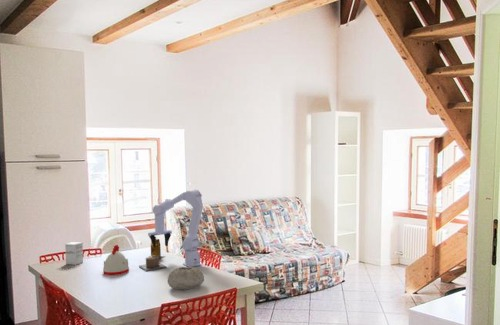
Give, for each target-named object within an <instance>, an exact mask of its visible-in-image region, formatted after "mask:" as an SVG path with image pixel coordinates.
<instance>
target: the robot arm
mask: <svg viewBox="0 0 500 325" xmlns="http://www.w3.org/2000/svg"><path fill="white" fill-rule="evenodd" d="M202 196H203V195H202V193H201V192H200V191H199V190H198V189H193V190H186V191H185V192H181V193H180V194H178V195H177V196H175V197H174V198H172V199H170V198H166V199H164V201H162V202H159V204H155V205H154V206H153V207H152V213H153V214H154V231H151V232H147V236H148V237H149V239H150V242H151V241H152V244H153V247H154V248H156V243H155V242H156V239H157V236H159V235H160V236H161V235H164V236H163V237H164V245H165V246H166V247H169V246H168V245H169V241H170V238H171V236H172V234H173V233H172V232H173V230H171V229H169V230H167V229H166V227H165V226H166V224H165V213H166V212H167V211H169V210H172V209H173V208H174V207H175V205H176V204H178V203H180V202H182V201H185V202H187V204H189V205H190V206H191V207H192V212H191V215H190V216H191V217H190V221H189V226H188V232H187V234H186V235H185V237H184V240H183V241H182V243H181V244H182V248H183V249H184V261H185V262H183V263H182V265H183V266H185V267H197V266H198V267H199V266H202V264H201V257H200V256H201V255H200V253H199V251H198V246H199V245H200V239H199V238H200V237H199V235H198V231H199V226H200V223H201V216H202V212H203V206H204V205H203V204H204V203H203V200H202ZM165 229H166V230H165Z"/></svg>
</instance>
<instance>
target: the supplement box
mask: <svg viewBox="0 0 500 325" xmlns="http://www.w3.org/2000/svg"><path fill="white" fill-rule="evenodd" d="M83 244H84V243H83V242H80V241H79V242H78V241H71V242H68V243H65V244H64V245H65V249H64V250H65V265H73V266H76V265H79V264H82V263H83V262H84V252H83V251H84V250H83V247H84V246H83Z"/></svg>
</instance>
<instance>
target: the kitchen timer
mask: <svg viewBox="0 0 500 325" xmlns="http://www.w3.org/2000/svg"><path fill="white" fill-rule="evenodd" d="M119 250H120V246H119V245H118V244H116V245H113V248H112V251H111V252H110V253H109V255H108V256H107V257H106V259H105V260H103V270H102V271H103V272H102V273H103V275H105V274H106V275H105V276H119V274H120V275H124V274H126V273H128V272H129V271H130V267H129V259H128V258H126V257H125V255H124V254H123V253H122V252H121V251H119Z"/></svg>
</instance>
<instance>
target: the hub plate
mask: <svg viewBox="0 0 500 325" xmlns="http://www.w3.org/2000/svg"><path fill="white" fill-rule="evenodd" d="M138 267H139V268H140V269H142V270H144V271H145V272H151V271H156V270H162V269H167V265H165V264H162V263H161V262H159V265H157V266H156V267H146V263H145V264H141V265H138Z"/></svg>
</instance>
